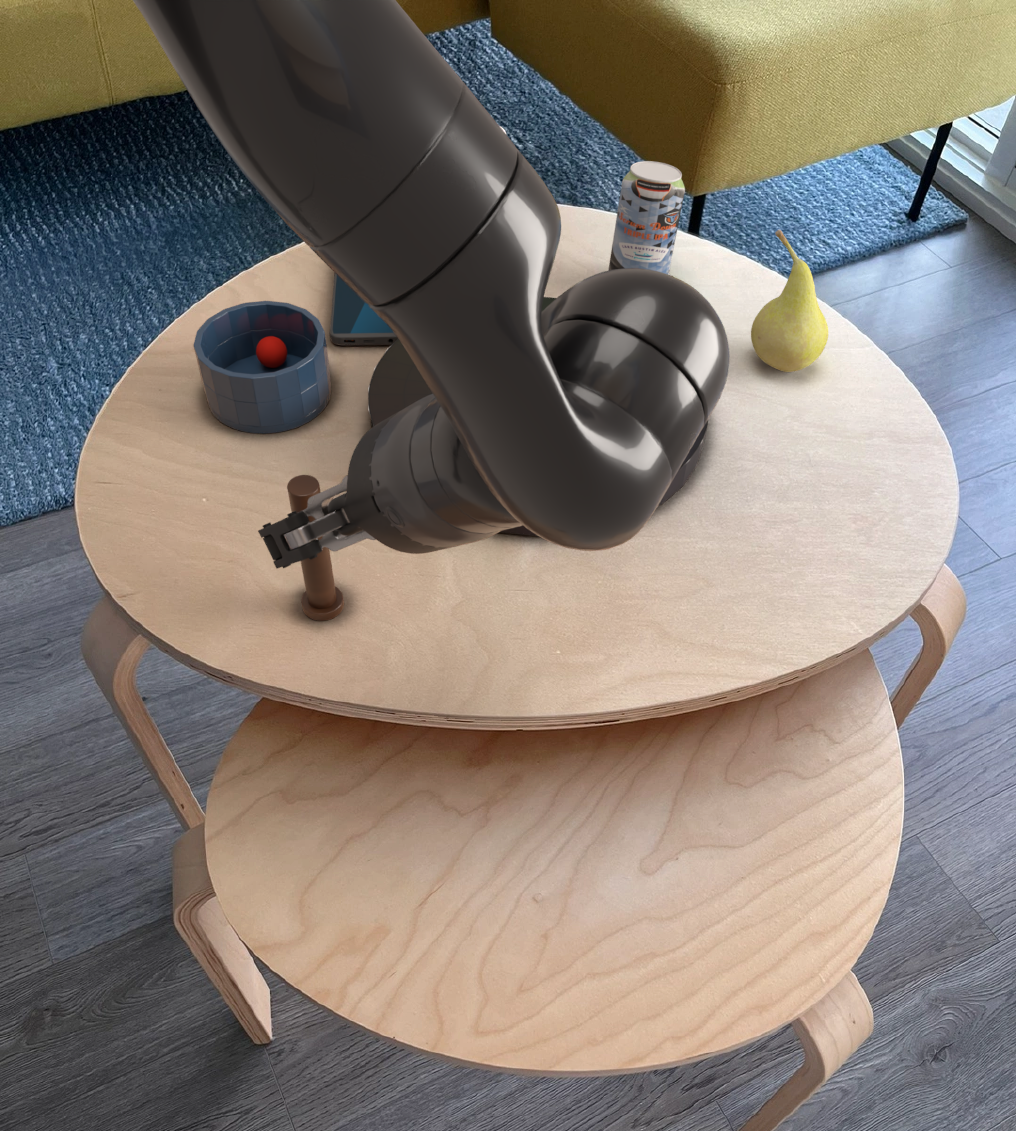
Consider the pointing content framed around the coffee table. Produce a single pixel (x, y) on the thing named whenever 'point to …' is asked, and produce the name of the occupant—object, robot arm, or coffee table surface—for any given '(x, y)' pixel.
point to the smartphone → (356, 319)
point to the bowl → (263, 367)
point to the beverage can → (647, 217)
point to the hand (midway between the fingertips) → (347, 510)
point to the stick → (315, 560)
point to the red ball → (271, 352)
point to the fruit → (791, 322)
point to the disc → (405, 385)
